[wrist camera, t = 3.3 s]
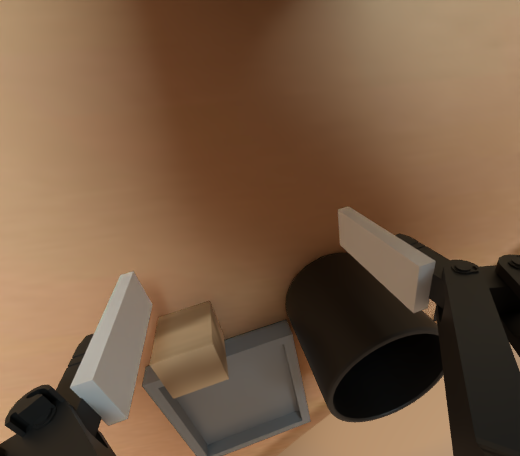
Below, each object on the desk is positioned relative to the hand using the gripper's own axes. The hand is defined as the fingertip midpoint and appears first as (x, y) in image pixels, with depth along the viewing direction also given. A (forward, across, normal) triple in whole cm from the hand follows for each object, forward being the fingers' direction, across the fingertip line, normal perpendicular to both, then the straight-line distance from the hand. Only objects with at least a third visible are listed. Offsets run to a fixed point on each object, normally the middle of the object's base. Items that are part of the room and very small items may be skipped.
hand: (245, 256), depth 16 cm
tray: (+4, -5, -20) cm, 21 cm away
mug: (+4, +8, -11) cm, 14 cm away
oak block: (+4, -6, -8) cm, 11 cm away
